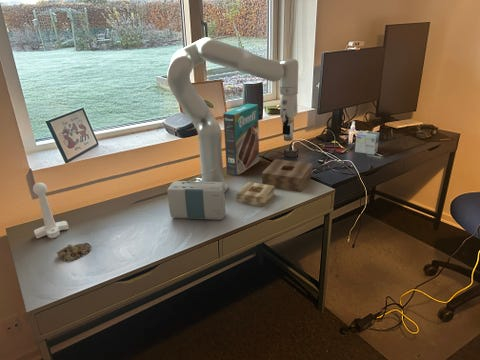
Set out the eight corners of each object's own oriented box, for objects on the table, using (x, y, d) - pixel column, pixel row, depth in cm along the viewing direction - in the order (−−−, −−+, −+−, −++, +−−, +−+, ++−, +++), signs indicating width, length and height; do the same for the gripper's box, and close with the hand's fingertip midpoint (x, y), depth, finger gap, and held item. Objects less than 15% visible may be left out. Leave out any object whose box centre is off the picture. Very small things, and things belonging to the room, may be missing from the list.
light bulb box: (377, 151, 204) (379, 132, 200) (374, 155, 199) (376, 135, 195) (357, 148, 209) (359, 129, 205) (354, 152, 204) (356, 133, 200)
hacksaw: (314, 174, 179) (314, 171, 178) (300, 168, 187) (300, 165, 186) (350, 163, 190) (350, 160, 189) (335, 157, 198) (335, 155, 197)
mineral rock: (58, 260, 118) (54, 243, 124) (60, 269, 121) (56, 252, 126) (93, 250, 123) (88, 234, 129) (94, 259, 126) (89, 243, 131)
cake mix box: (237, 175, 180) (234, 114, 168) (226, 173, 183) (223, 113, 171) (259, 161, 197) (258, 104, 185) (249, 159, 200) (247, 103, 188)
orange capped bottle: (282, 140, 163) (282, 115, 159) (285, 137, 166) (285, 113, 162) (291, 141, 162) (291, 116, 157) (294, 138, 165) (294, 114, 160)
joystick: (66, 224, 143) (54, 176, 135) (71, 232, 137) (58, 183, 129) (34, 234, 137) (19, 185, 129) (38, 243, 132) (22, 192, 124)
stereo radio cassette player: (170, 220, 143) (163, 172, 135) (176, 210, 151) (170, 164, 143) (223, 222, 140) (220, 173, 132) (227, 211, 148) (224, 165, 140)
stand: (237, 201, 155) (236, 193, 154) (248, 190, 165) (248, 181, 164) (264, 206, 151) (264, 197, 149) (274, 194, 160) (274, 185, 159)
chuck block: (262, 185, 169) (261, 172, 166) (275, 171, 183) (275, 159, 181) (300, 192, 161) (301, 178, 159) (311, 176, 176) (312, 163, 174)
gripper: (291, 94, 147) (290, 139, 154) (303, 87, 161) (301, 128, 168) (273, 94, 150) (273, 137, 157) (286, 86, 164) (285, 126, 171)
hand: (288, 132), depth 163 cm, fingers closed on orange capped bottle, 4 cm apart
